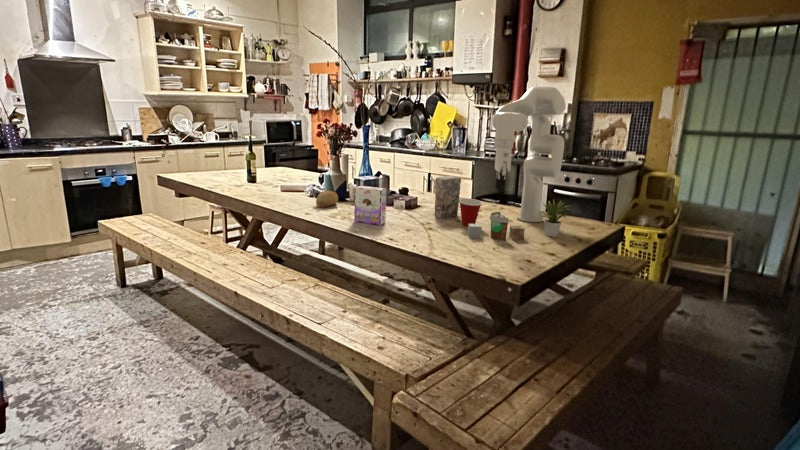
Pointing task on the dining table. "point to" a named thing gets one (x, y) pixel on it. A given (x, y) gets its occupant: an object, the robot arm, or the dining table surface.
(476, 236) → the slate-grey block
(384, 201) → the candy box
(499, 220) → the food container
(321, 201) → the bread roll
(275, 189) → the dining table surface
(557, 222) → the house plant
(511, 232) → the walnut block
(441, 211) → the stone block
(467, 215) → the plastic cup
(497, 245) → the dining table surface
